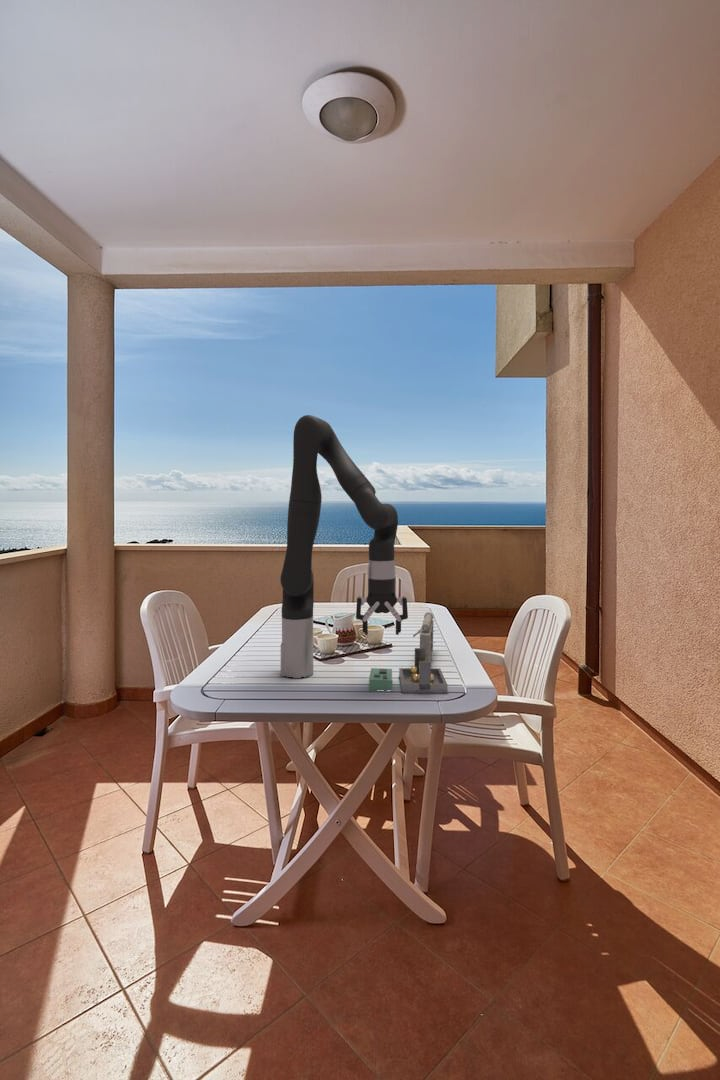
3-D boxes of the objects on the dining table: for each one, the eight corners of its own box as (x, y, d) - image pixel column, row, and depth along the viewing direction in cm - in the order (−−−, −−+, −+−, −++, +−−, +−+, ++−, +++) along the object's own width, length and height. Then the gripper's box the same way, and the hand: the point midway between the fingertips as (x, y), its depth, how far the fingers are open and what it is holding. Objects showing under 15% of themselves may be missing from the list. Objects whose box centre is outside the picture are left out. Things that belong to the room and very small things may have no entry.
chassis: (402, 693, 134) (402, 662, 134) (399, 676, 147) (399, 648, 147) (447, 693, 134) (447, 662, 134) (439, 676, 147) (440, 648, 146)
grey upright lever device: (433, 625, 152) (437, 608, 177) (412, 623, 153) (419, 607, 178) (432, 670, 153) (436, 647, 178) (411, 668, 154) (418, 645, 179)
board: (369, 692, 136) (369, 676, 136) (371, 679, 145) (371, 665, 145) (391, 693, 135) (391, 677, 135) (391, 680, 145) (392, 666, 144)
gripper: (355, 578, 134) (356, 638, 136) (408, 578, 134) (408, 637, 136) (355, 574, 142) (356, 630, 143) (406, 574, 142) (406, 630, 143)
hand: (381, 634), depth 139 cm, fingers open, 8 cm apart
